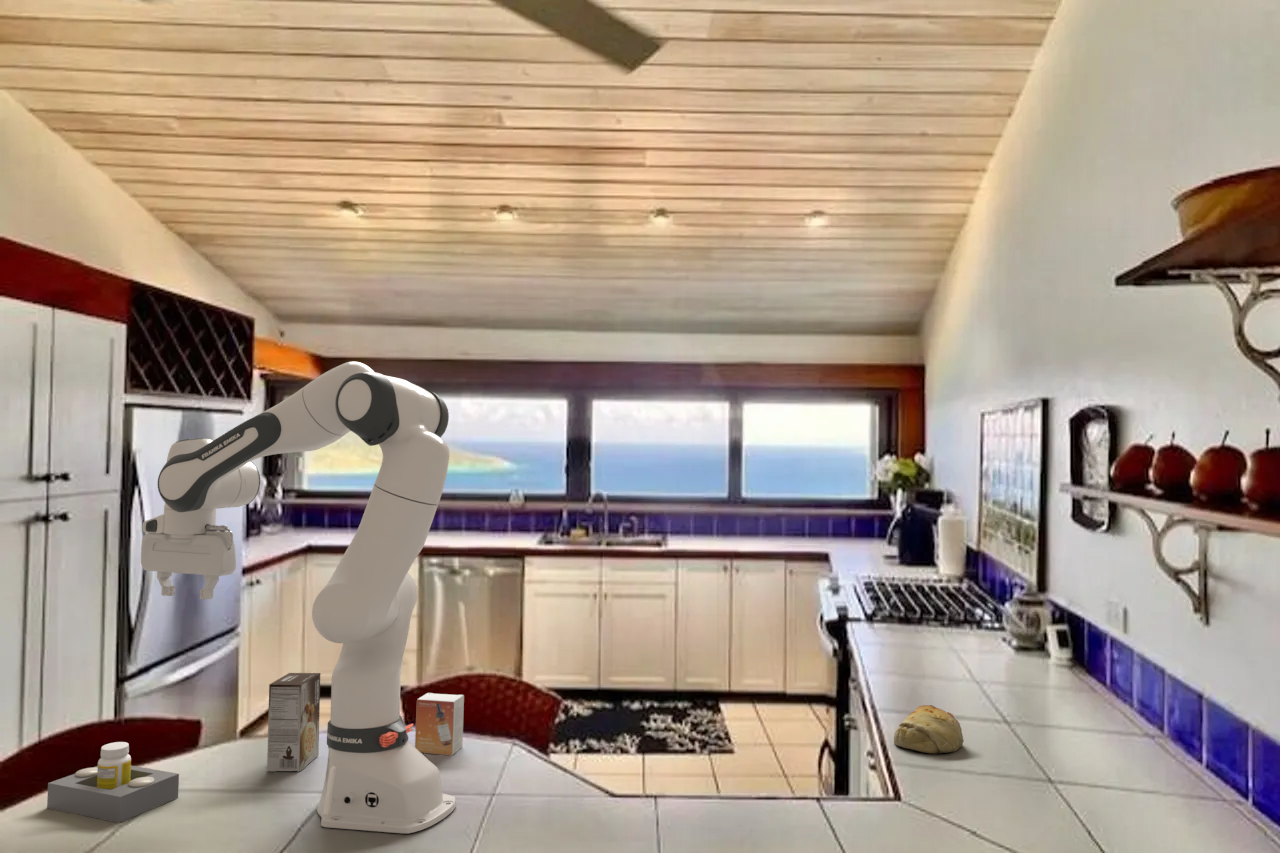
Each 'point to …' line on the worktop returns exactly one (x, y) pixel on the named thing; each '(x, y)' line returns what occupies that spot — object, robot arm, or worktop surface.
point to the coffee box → (293, 721)
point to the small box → (439, 723)
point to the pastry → (929, 731)
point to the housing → (112, 794)
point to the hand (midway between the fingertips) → (186, 597)
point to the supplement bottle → (114, 766)
